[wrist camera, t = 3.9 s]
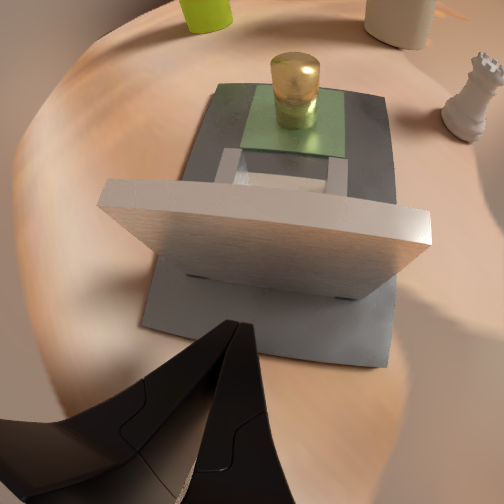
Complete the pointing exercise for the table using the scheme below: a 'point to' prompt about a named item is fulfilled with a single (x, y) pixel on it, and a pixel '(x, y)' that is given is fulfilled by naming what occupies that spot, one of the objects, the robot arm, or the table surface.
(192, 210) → the grey bracket
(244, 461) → the robot arm
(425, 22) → the travel mug
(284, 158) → the base
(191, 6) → the soap dispenser
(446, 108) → the rook chess piece
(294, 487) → the table surface
